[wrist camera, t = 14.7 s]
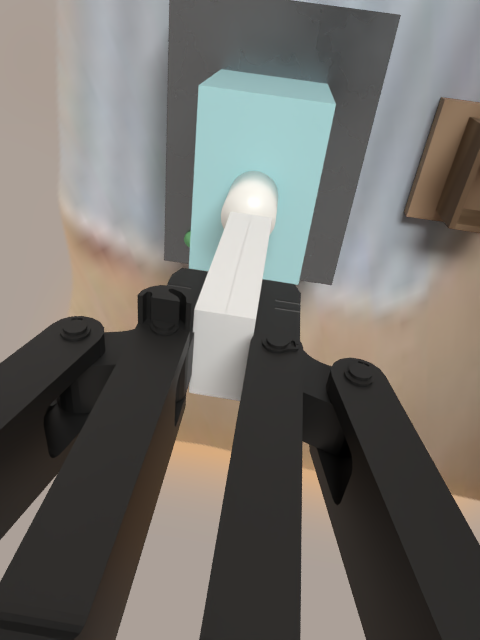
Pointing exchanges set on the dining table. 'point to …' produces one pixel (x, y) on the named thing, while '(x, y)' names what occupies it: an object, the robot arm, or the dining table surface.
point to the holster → (450, 168)
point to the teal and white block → (259, 163)
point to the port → (287, 62)
